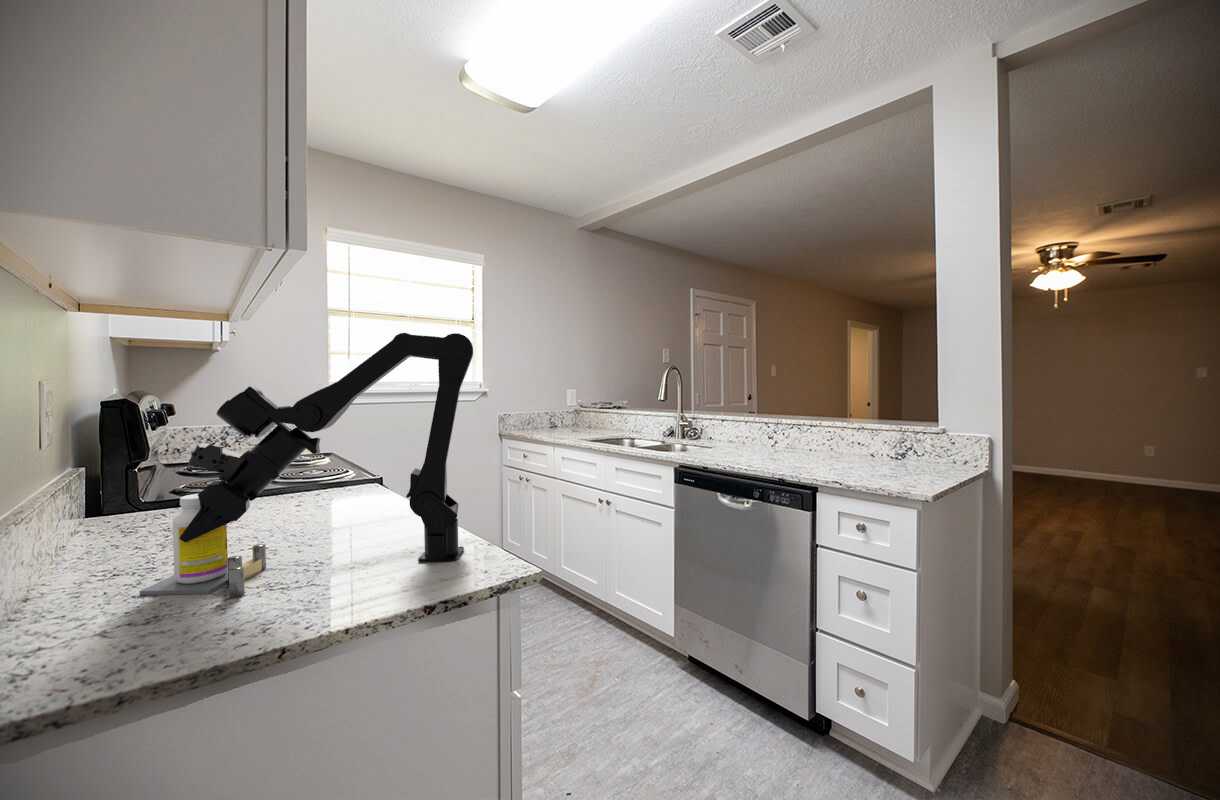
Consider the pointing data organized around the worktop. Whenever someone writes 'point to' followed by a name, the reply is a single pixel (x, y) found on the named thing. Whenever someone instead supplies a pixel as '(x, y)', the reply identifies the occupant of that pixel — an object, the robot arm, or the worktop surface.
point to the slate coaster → (185, 587)
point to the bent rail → (245, 570)
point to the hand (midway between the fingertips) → (188, 534)
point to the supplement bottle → (197, 547)
